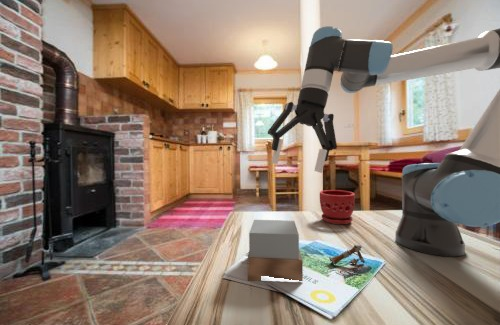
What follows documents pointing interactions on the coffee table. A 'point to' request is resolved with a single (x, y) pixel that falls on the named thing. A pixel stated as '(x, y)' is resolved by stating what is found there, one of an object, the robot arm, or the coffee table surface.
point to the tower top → (274, 239)
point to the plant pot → (337, 206)
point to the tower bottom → (275, 268)
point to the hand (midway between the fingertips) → (296, 167)
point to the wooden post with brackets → (348, 254)
